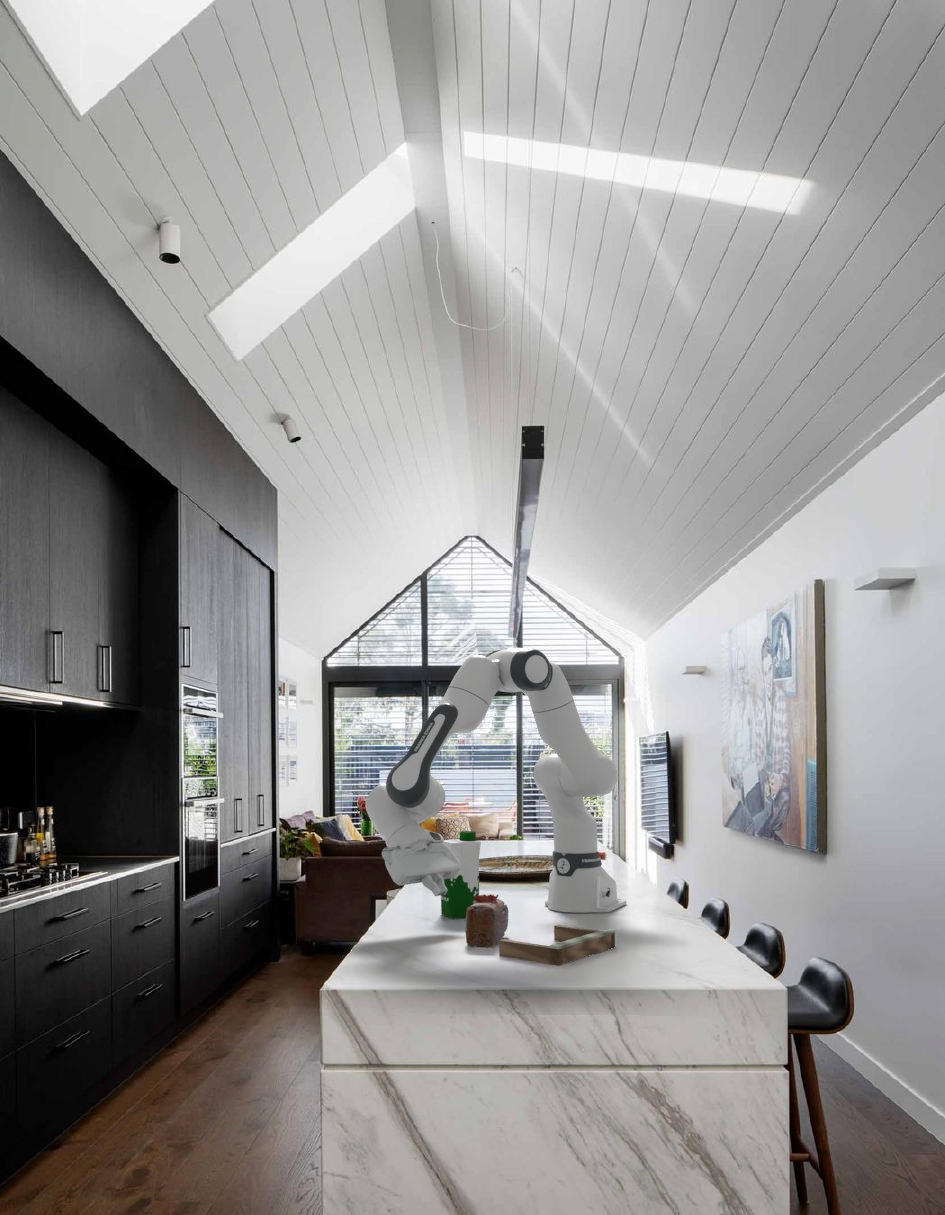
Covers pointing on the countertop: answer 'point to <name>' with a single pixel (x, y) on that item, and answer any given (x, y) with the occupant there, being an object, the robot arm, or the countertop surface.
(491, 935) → the food item
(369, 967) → the countertop surface
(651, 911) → the countertop surface
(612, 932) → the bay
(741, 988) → the countertop surface
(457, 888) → the milk carton
